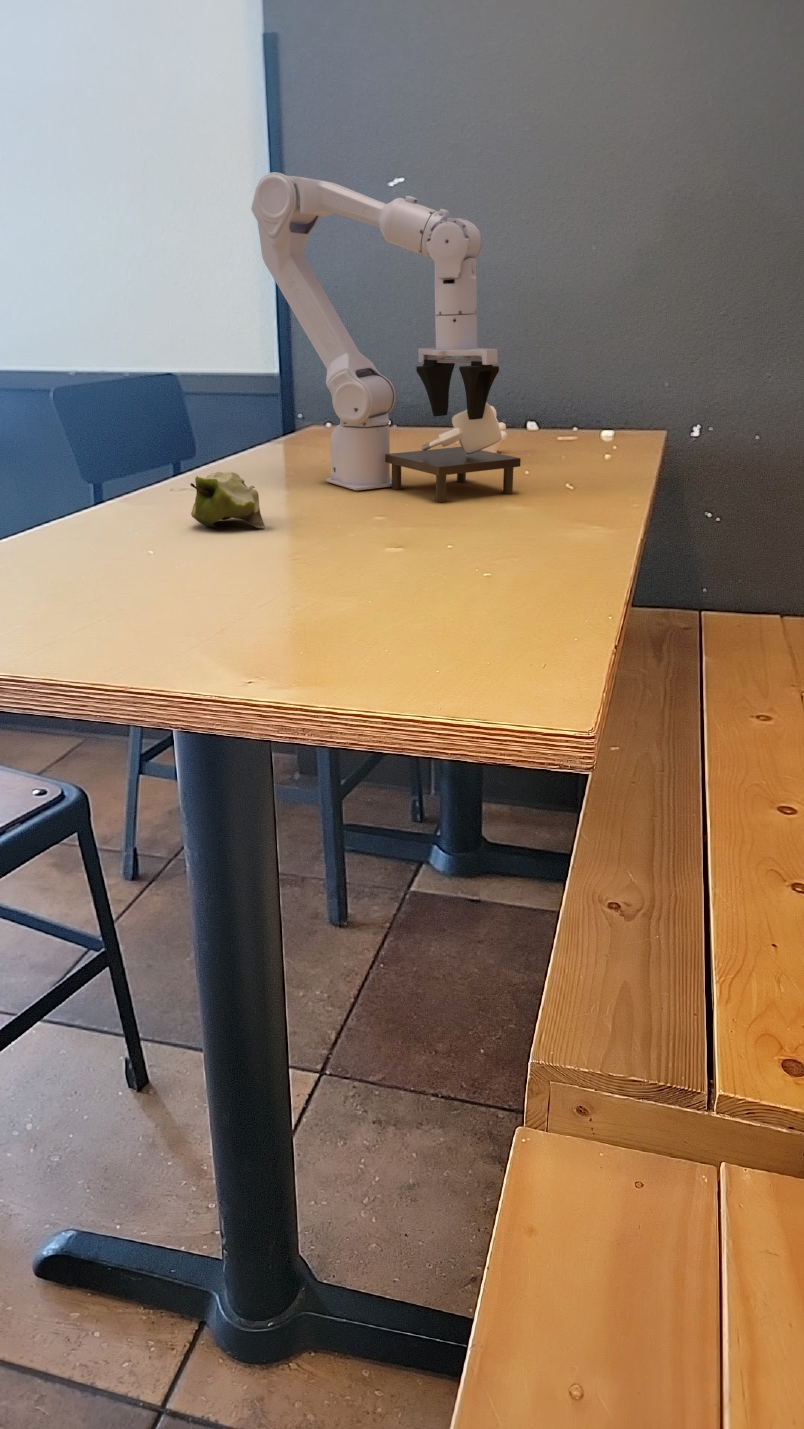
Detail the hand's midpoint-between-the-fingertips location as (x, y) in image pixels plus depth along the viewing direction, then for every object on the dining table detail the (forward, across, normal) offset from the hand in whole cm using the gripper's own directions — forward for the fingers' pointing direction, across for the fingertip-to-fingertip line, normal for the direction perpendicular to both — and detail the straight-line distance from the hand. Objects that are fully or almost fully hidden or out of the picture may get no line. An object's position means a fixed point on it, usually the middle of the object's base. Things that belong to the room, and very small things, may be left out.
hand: (457, 417), depth 150 cm
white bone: (+10, -22, +24) cm, 34 cm away
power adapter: (+5, +1, +1) cm, 6 cm away
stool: (+10, -1, 0) cm, 10 cm away
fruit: (+10, -1, -38) cm, 39 cm away
